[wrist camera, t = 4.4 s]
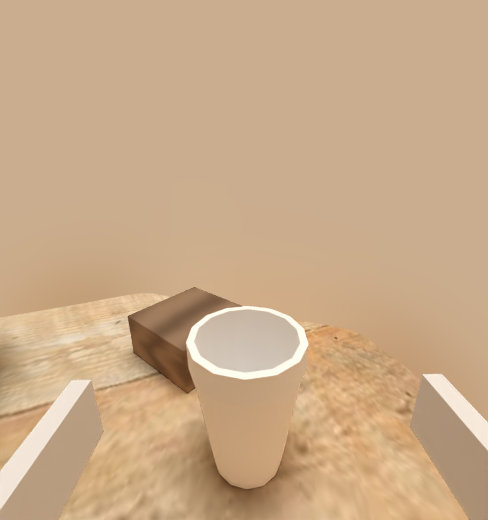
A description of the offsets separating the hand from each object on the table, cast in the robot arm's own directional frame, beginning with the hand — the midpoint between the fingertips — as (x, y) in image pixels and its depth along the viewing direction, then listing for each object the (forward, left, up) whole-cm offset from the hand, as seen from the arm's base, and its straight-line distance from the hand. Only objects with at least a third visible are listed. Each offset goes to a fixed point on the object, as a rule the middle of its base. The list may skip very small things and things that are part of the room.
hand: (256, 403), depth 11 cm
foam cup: (-7, +8, -17) cm, 20 cm away
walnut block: (-23, +15, -17) cm, 32 cm away
